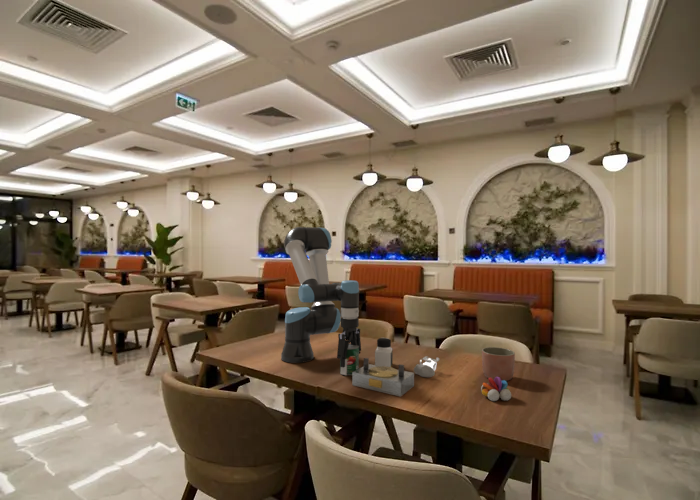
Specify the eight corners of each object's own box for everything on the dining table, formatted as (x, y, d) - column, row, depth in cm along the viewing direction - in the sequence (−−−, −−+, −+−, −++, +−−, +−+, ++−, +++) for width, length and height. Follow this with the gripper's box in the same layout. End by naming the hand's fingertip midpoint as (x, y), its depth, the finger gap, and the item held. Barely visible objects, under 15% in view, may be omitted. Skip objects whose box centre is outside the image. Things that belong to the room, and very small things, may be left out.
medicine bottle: (391, 368, 161) (391, 341, 161) (374, 367, 163) (374, 340, 163) (392, 363, 168) (392, 337, 168) (376, 362, 170) (377, 336, 170)
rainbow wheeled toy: (477, 393, 134) (477, 373, 134) (502, 392, 135) (503, 372, 135) (487, 403, 126) (488, 381, 126) (515, 402, 127) (515, 381, 127)
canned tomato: (341, 375, 152) (341, 348, 152) (338, 369, 160) (339, 344, 159) (360, 374, 153) (360, 348, 153) (357, 368, 161) (357, 343, 161)
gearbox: (351, 385, 141) (351, 361, 141) (368, 376, 151) (368, 354, 151) (399, 397, 130) (400, 371, 130) (413, 386, 141) (414, 362, 141)
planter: (475, 375, 154) (475, 348, 153) (498, 371, 158) (498, 345, 158) (497, 385, 142) (497, 356, 142) (521, 381, 147) (522, 353, 147)
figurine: (410, 364, 153) (422, 353, 162) (412, 379, 153) (424, 367, 163) (431, 367, 147) (443, 355, 157) (433, 382, 148) (444, 369, 157)
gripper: (343, 322, 145) (343, 380, 145) (369, 314, 163) (369, 366, 163) (328, 320, 149) (327, 376, 149) (355, 313, 167) (354, 363, 167)
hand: (349, 371), depth 156 cm, fingers closed on canned tomato, 8 cm apart
